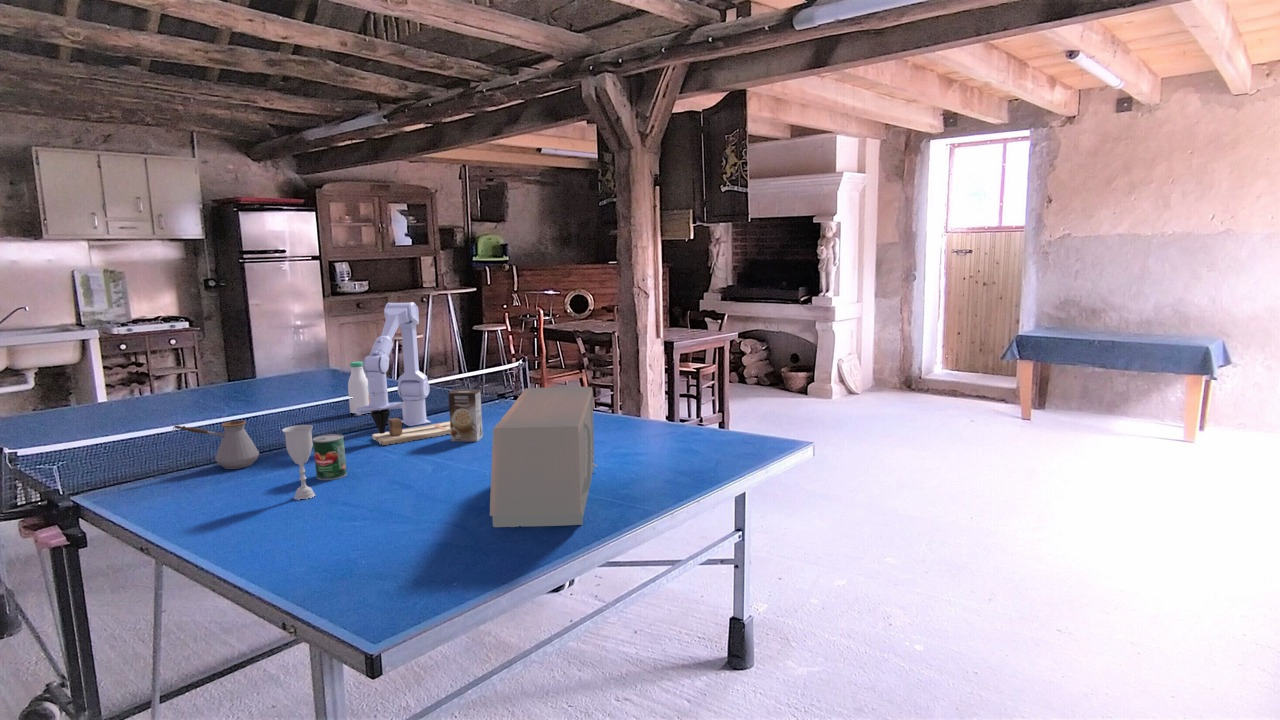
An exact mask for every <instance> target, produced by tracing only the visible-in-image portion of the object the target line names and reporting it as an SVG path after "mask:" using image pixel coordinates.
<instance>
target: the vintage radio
mask: <svg viewBox="0 0 1280 720" xmlns="http://www.w3.org/2000/svg"><path fill="white" fill-rule="evenodd" d="M593 394H594V393H593V387H592V386H569V387H568V386H565V387H564V386H562V387H559V386H558V387H555V386H554V387H529V388H524V389H523V391H522V392H521V394H520V395H519V396H518V398H517V399H516V400H515V401H514V403H513V404H512V406H511V407H510V408H509V409H508V410H507V412H506V413H505V414H504V415H503V416H502V417H501V419H500V421H499V422H498V423H496V425H495V426H494V427H493V429H492V447H491V450H492V452H491V476H490V497H489V499H490V501H489V516H490V517H492V527H493V528H508V527H509V528H515V527H516V528H517V527H519V526H521V527H555V526H556V527H558V526H562V527H564V526H577V525H578V526H580V525H581V526H583V524H584V522H583V521H584V520H583V519H584V515H585V511H586V510H585V509H586V506H587V501H588V497H589V492H590V487H591V483H592V477H593V472H594V467H596V468H597V467H598V464H595V463H594V457H595V449H594V443H595V442H594V439H595V438H594V437H595V436H594V405H593V404H594V401H593ZM521 527H519V528H521Z"/></svg>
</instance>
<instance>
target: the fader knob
mask: <svg viewBox="0 0 1280 720" xmlns="http://www.w3.org/2000/svg"><path fill="white" fill-rule="evenodd" d="M401 420H402V419H400V418H399V417H394V418H388V420H387V422H388V430H389V431H388V432H389V434H391V435H393V436H395V435H401V434H402V429H403V425H402V424H403V423H402V422H401Z"/></svg>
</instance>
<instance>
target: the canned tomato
mask: <svg viewBox="0 0 1280 720" xmlns="http://www.w3.org/2000/svg"><path fill="white" fill-rule="evenodd" d="M344 438H345V437H344V435H343V434H339V433H332V434H331V433H328V434H323V435H319V436H318V435H317V436H315V437H312V442H313V446H312V447H313V455H314V465H315V473H316V479H317V480H319V481H333V480H334V481H335V480H338V479H341V478H344V477H346V476H347V475H348V472H347V469H348V468H347V462H346V461H347V459H346V450H345V440H344Z"/></svg>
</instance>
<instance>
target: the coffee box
mask: <svg viewBox="0 0 1280 720" xmlns="http://www.w3.org/2000/svg"><path fill="white" fill-rule="evenodd" d="M481 395H482V394H481V389H466V388H465V389H464V388H463V389H460V388H459V389H458V388H457V389H456V388H455V389H454V388H453V390H451V391H450V392H448V407H449V409H448V411H449V421H450V429H451V434H450V442H479V441H480V440H481V439H482V438H483V435H484V434H483V416H482V415H483V414H482V397H481Z"/></svg>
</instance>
